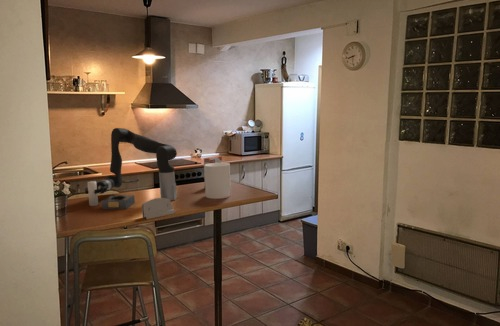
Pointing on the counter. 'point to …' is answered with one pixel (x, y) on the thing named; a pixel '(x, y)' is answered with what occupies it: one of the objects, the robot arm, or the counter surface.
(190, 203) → the counter surface
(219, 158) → the cracker box
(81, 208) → the counter surface
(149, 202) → the hinge
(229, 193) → the canister
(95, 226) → the counter surface
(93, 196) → the peg
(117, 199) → the socket block
